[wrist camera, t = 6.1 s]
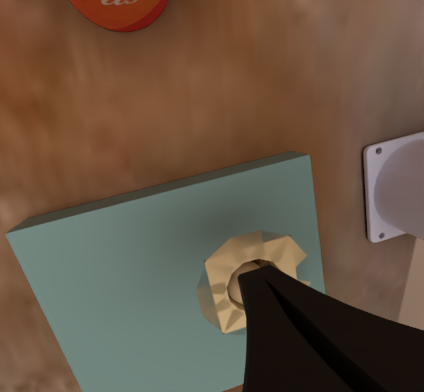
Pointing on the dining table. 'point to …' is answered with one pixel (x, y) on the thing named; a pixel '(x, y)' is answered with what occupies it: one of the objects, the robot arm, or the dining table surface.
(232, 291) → the maple ball
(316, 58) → the dining table surface
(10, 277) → the dining table surface
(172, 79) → the dining table surface
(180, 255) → the hole board
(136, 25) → the coffee cup
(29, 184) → the dining table surface
